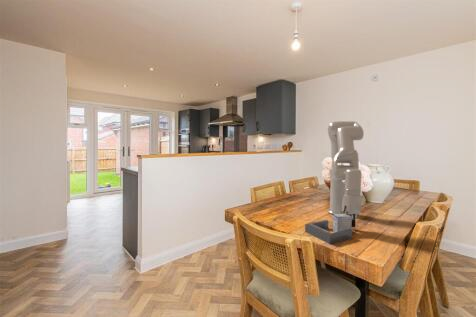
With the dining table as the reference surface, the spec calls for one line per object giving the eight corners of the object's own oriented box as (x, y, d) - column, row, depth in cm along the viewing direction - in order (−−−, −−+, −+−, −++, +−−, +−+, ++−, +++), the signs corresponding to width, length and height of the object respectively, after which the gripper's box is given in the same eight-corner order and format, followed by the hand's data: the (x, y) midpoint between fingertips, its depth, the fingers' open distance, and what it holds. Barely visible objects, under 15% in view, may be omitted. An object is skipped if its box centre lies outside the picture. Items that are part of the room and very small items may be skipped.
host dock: (326, 227, 124) (326, 218, 123) (352, 238, 109) (352, 228, 109) (305, 231, 117) (305, 223, 117) (329, 244, 103) (329, 234, 102)
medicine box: (346, 229, 120) (346, 213, 119) (351, 232, 116) (352, 216, 115) (332, 230, 119) (332, 214, 118) (337, 233, 115) (337, 216, 114)
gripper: (355, 189, 126) (354, 221, 127) (336, 192, 119) (335, 226, 121) (368, 192, 119) (367, 226, 121) (349, 195, 113) (348, 231, 114)
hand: (351, 226), depth 121 cm, fingers closed
